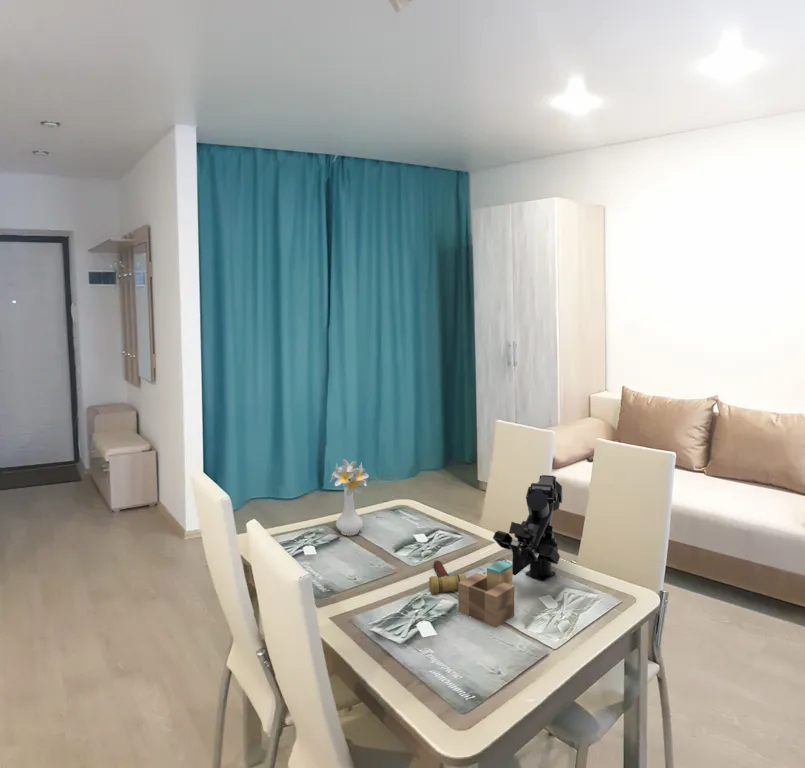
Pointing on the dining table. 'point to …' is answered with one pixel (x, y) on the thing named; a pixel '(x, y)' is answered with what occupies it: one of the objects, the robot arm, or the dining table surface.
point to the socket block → (485, 600)
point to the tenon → (499, 574)
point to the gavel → (444, 580)
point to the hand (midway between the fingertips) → (513, 574)
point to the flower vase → (349, 496)
